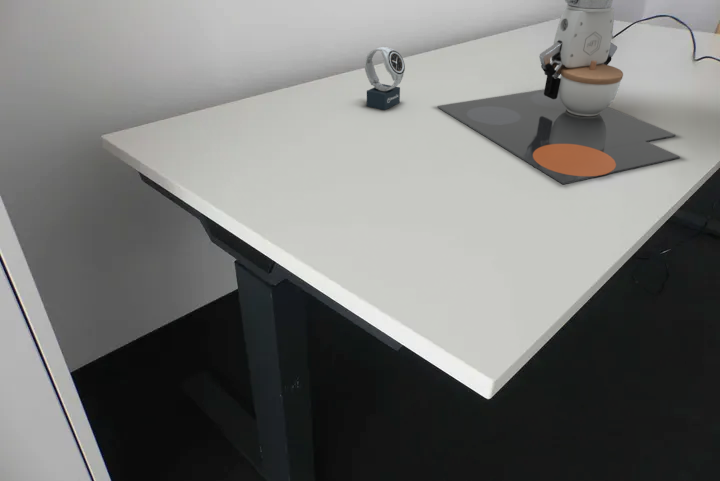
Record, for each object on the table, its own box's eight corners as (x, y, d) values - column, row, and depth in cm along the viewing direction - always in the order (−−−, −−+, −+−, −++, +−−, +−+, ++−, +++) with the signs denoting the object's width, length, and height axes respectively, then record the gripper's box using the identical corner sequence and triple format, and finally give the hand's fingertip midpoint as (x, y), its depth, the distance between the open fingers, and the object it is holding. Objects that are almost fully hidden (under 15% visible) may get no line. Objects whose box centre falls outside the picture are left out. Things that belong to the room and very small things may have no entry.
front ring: (577, 139, 92) (577, 139, 92) (634, 167, 82) (634, 167, 82) (516, 151, 88) (516, 150, 88) (568, 182, 78) (568, 182, 78)
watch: (393, 112, 105) (394, 54, 99) (359, 104, 109) (358, 48, 103) (408, 104, 109) (410, 47, 103) (375, 97, 113) (375, 42, 107)
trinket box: (575, 97, 110) (585, 50, 105) (624, 112, 103) (637, 62, 97) (542, 109, 104) (551, 59, 99) (591, 125, 97) (603, 73, 92)
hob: (559, 88, 117) (559, 87, 116) (711, 151, 88) (711, 149, 88) (437, 107, 107) (437, 105, 107) (563, 184, 78) (563, 182, 78)
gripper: (565, 6, 91) (546, 105, 100) (643, -1, 96) (618, 94, 105) (537, -1, 96) (521, 94, 106) (612, -7, 102) (591, 83, 111)
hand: (570, 94), depth 106 cm, fingers open, 9 cm apart
